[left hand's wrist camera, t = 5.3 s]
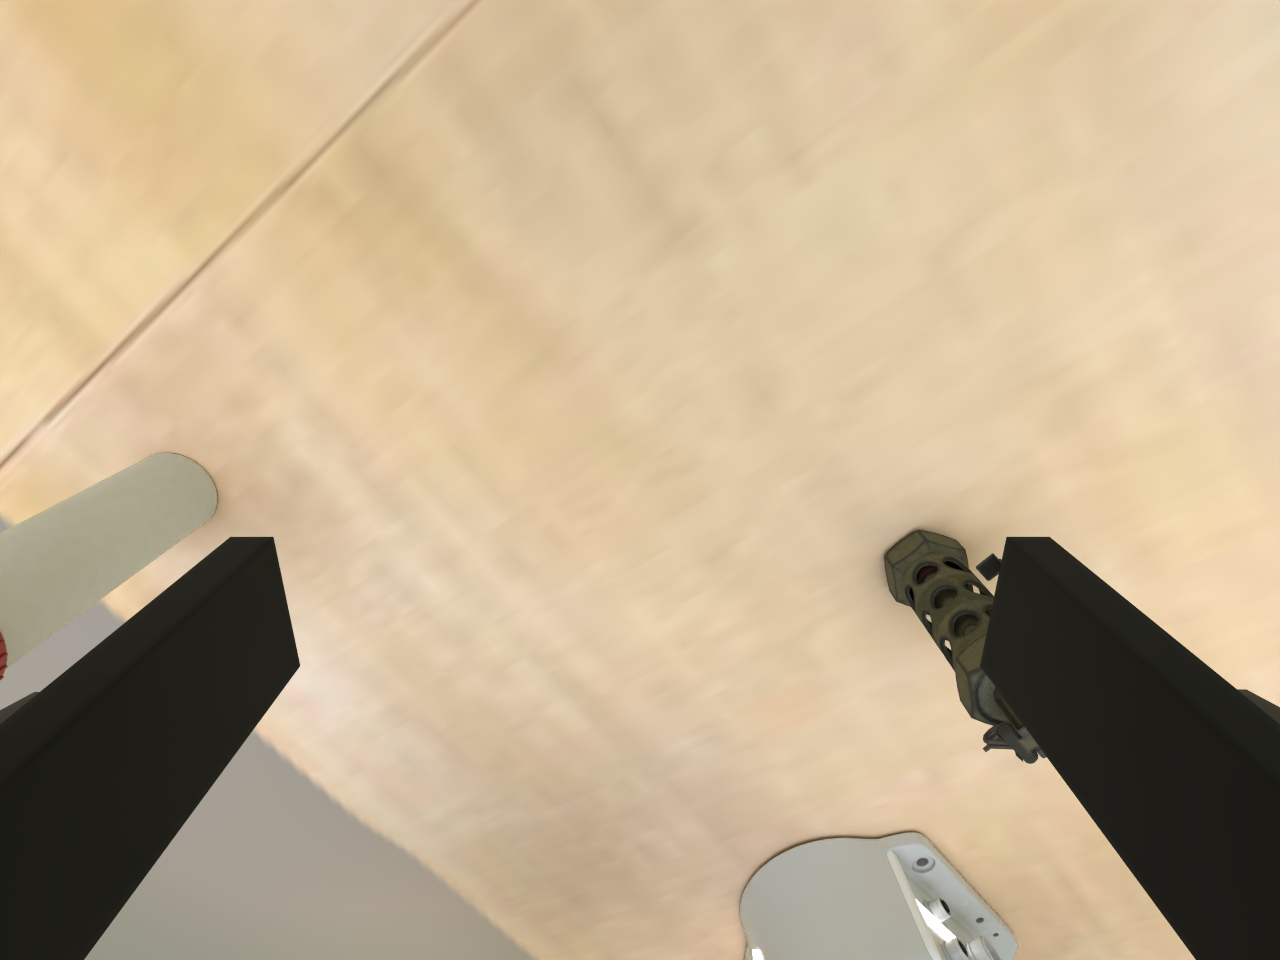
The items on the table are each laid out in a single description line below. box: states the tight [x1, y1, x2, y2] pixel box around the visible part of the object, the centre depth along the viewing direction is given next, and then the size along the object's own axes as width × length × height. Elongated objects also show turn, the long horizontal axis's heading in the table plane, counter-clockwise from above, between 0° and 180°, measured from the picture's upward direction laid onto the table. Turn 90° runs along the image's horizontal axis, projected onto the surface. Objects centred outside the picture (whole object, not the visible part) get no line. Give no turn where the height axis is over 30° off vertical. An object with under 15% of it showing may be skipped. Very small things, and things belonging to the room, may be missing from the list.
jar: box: [0, 453, 218, 667], centre depth 35 cm, size 5×5×17 cm
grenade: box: [885, 530, 1047, 764], centre depth 37 cm, size 9×6×15 cm, turn 134°
